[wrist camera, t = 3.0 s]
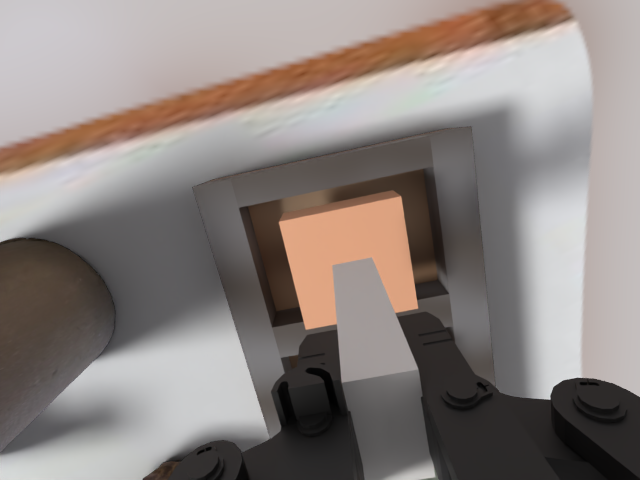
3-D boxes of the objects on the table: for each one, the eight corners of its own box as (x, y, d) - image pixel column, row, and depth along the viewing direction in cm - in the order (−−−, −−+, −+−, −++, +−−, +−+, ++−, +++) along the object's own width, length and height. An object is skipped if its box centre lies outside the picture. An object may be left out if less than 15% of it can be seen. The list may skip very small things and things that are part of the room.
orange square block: (408, 291, 19) (418, 308, 17) (307, 311, 19) (305, 329, 18) (392, 189, 18) (401, 196, 16) (283, 212, 18) (278, 221, 16)
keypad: (486, 494, 28) (509, 542, 24) (312, 521, 29) (311, 572, 25) (446, 128, 20) (471, 126, 17) (212, 179, 21) (192, 187, 18)
